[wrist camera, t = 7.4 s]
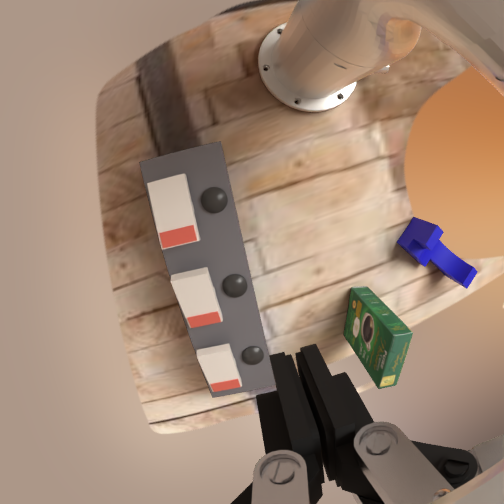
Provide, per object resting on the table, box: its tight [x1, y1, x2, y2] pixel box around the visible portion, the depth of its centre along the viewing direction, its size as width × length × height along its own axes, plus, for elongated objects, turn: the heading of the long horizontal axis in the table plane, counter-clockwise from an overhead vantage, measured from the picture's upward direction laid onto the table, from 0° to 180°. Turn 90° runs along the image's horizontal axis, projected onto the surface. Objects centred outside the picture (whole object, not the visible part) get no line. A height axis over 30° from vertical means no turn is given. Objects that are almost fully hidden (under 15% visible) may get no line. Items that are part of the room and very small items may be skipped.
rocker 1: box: [147, 174, 200, 250], centre depth 32 cm, size 4×7×2 cm, turn 12°
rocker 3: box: [197, 343, 242, 392], centre depth 38 cm, size 4×7×2 cm, turn 12°
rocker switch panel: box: [139, 141, 276, 398], centre depth 38 cm, size 9×32×4 cm, turn 12°
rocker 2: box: [171, 267, 223, 328], centre depth 35 cm, size 4×7×2 cm, turn 12°
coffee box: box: [344, 286, 413, 389], centre depth 37 cm, size 8×3×13 cm, turn 179°
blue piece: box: [397, 217, 477, 288], centre depth 39 cm, size 12×4×6 cm, turn 55°
